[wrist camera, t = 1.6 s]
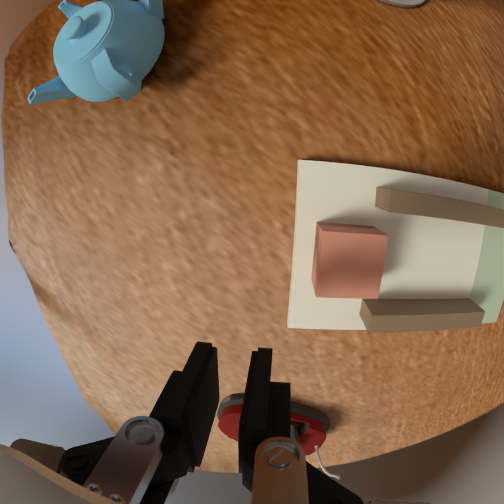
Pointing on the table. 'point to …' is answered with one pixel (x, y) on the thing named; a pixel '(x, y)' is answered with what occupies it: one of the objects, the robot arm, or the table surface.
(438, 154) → the table surface
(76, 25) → the teapot
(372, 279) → the block
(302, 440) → the bumper car
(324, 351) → the table surface
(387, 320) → the board with rails
